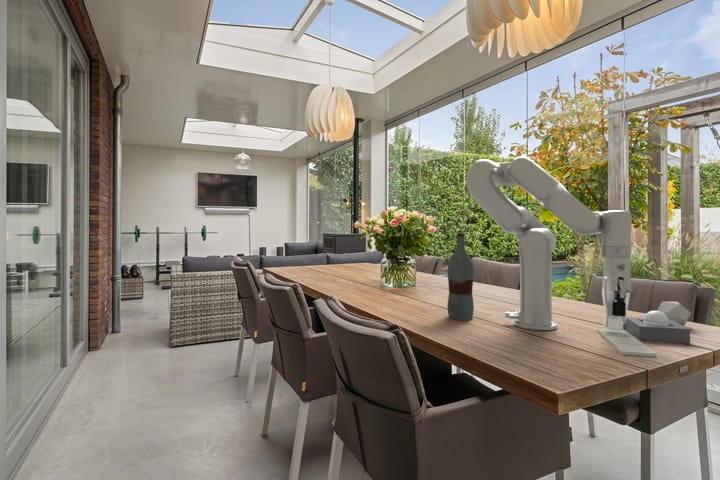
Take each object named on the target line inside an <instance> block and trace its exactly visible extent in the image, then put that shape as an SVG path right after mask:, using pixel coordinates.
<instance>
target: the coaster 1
mask: <svg viewBox="0 0 720 480" xmlns="http://www.w3.org/2000/svg"><path fill="white" fill-rule="evenodd" d="M596 330H597V331H596V332H597V333H598V334H599V335H600V336H602V337H603V338H604V336H619V337H634V336H633V335H631V334H630V333H629V332H627V331H626V330H611V329H607V328H605V329H604V328H597V329H596Z"/></svg>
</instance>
